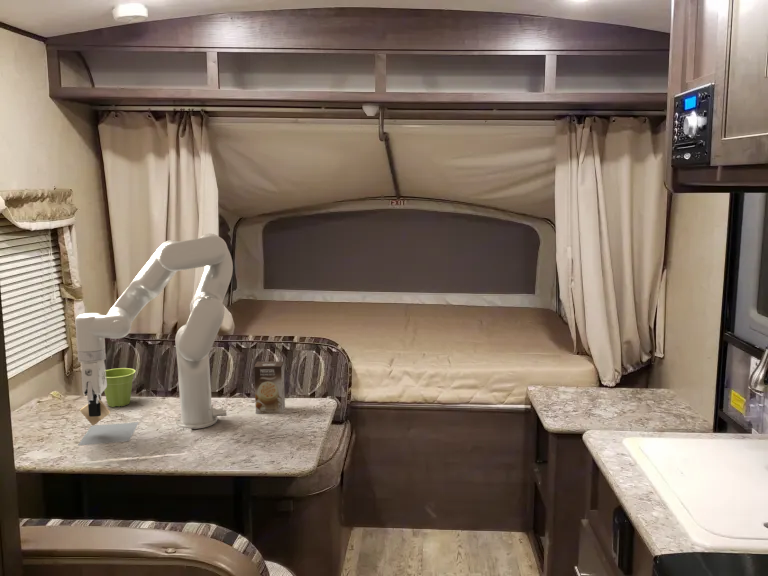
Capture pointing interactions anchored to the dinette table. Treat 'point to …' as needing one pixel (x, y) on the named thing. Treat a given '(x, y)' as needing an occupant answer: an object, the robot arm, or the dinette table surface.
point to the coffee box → (269, 387)
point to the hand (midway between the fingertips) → (95, 414)
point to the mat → (109, 433)
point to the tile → (97, 418)
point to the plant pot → (119, 386)
